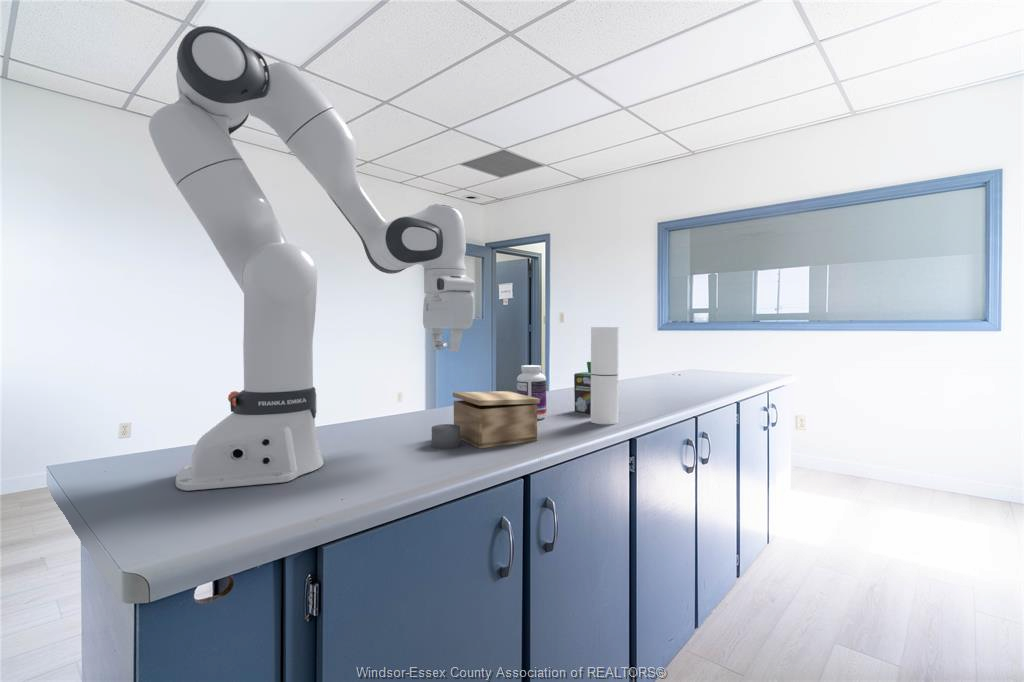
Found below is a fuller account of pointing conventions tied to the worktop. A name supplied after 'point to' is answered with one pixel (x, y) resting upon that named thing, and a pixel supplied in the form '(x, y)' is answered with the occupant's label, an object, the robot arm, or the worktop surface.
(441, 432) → the smooth gray rounded object
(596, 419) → the cylindrical container
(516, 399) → the lid
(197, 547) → the worktop surface
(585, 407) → the chalk box
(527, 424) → the box
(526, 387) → the pill bottle
